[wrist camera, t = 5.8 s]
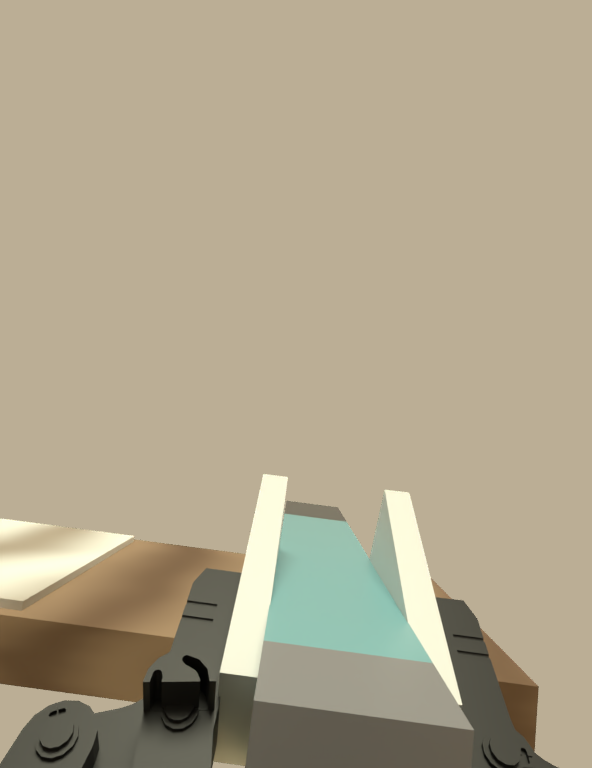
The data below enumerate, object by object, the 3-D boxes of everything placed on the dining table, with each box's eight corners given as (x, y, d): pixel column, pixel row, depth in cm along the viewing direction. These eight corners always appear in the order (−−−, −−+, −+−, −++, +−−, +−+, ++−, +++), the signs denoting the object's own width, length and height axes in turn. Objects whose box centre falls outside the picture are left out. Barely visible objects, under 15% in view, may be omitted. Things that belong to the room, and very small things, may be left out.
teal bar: (222, 946, 6) (253, 699, 7) (280, 553, 28) (286, 500, 28) (454, 980, 6) (473, 730, 7) (331, 560, 28) (337, 507, 28)
